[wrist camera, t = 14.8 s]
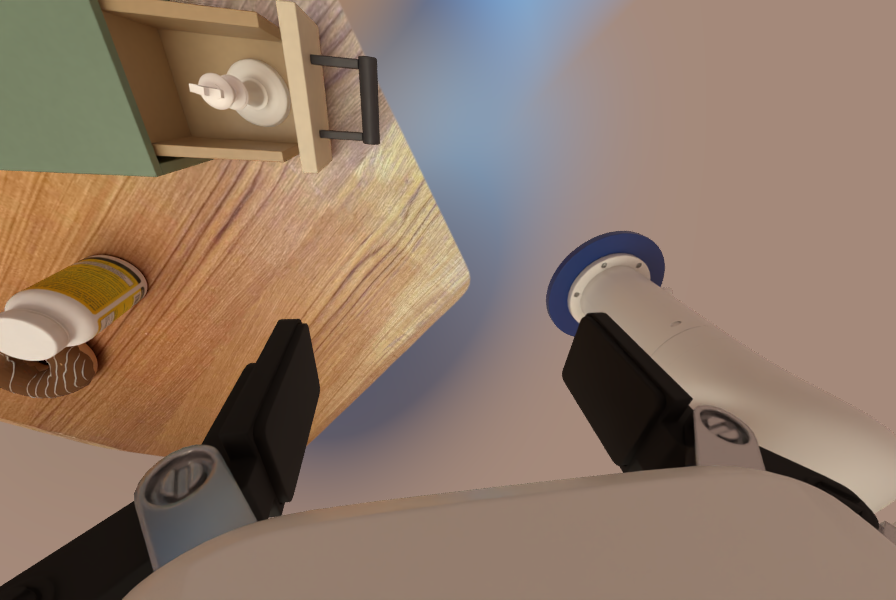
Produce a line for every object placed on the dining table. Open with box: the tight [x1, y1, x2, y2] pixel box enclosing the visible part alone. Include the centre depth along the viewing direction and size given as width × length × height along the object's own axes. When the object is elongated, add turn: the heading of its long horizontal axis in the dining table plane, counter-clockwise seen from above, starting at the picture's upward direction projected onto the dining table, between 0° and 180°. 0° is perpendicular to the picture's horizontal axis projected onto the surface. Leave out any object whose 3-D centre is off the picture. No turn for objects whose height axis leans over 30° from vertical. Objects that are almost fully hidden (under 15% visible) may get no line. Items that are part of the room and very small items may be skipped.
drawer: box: [98, 0, 380, 174], centre depth 25 cm, size 17×10×7 cm, turn 86°
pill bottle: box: [0, 255, 147, 361], centre depth 31 cm, size 6×6×11 cm
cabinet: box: [0, 0, 213, 177], centre depth 23 cm, size 14×12×9 cm
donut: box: [0, 343, 98, 398], centre depth 37 cm, size 11×11×4 cm
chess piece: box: [189, 59, 291, 127], centre depth 23 cm, size 5×5×10 cm
